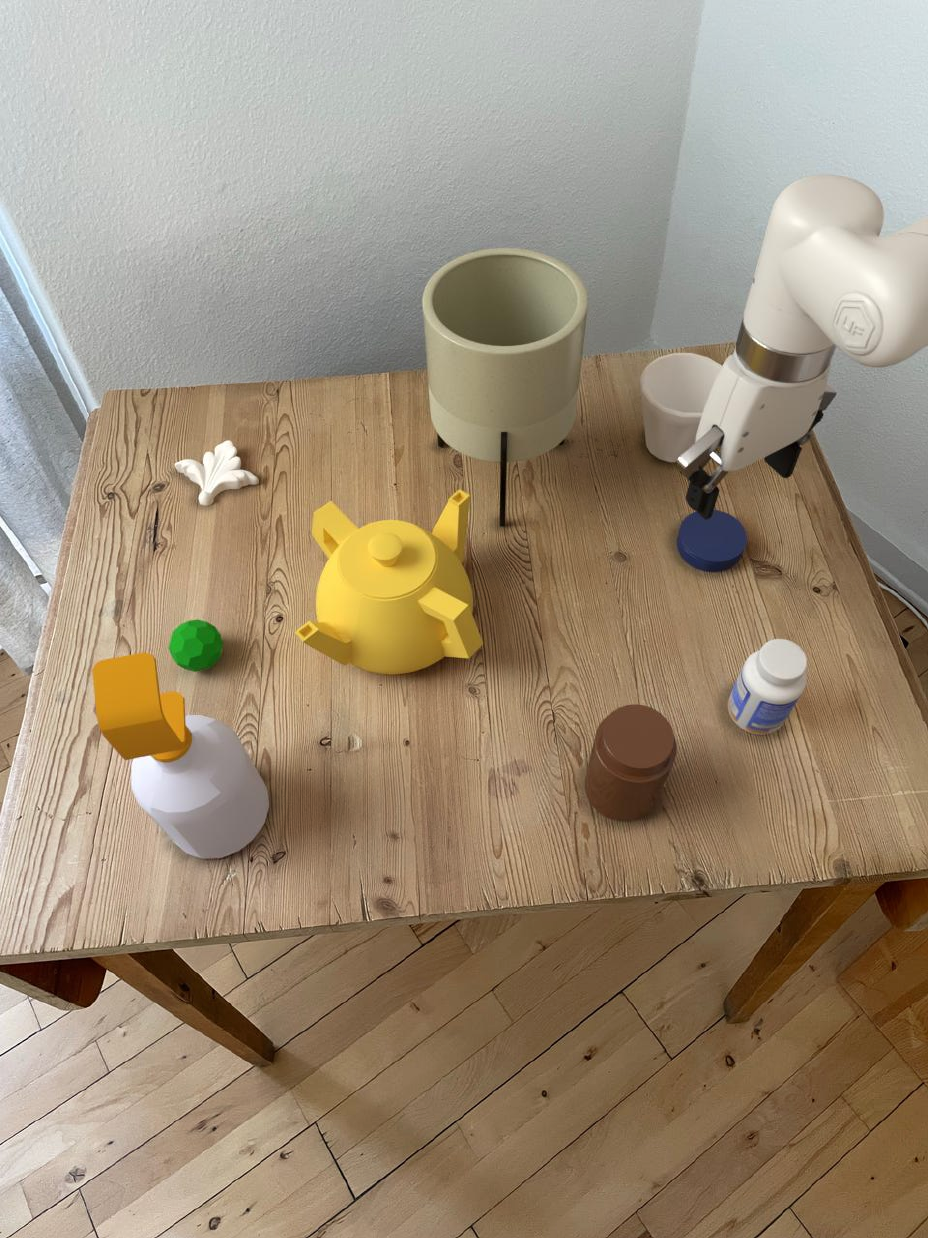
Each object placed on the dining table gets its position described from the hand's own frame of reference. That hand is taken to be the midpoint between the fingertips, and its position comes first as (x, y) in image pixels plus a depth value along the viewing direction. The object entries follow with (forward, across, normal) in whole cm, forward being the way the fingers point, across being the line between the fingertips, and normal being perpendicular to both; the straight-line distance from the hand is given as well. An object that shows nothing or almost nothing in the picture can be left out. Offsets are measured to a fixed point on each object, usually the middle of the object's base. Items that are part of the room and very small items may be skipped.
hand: (738, 488), depth 84 cm
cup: (+10, -6, -15) cm, 19 cm away
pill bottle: (+10, +9, +16) cm, 21 cm away
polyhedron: (+10, +52, -16) cm, 55 cm away
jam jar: (+10, +24, +16) cm, 31 cm away
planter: (+10, +13, -22) cm, 27 cm away
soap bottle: (+10, +56, -1) cm, 57 cm away
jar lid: (+8, 0, -1) cm, 8 cm away
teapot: (+10, +33, -10) cm, 36 cm away
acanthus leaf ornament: (+9, +41, -38) cm, 57 cm away
